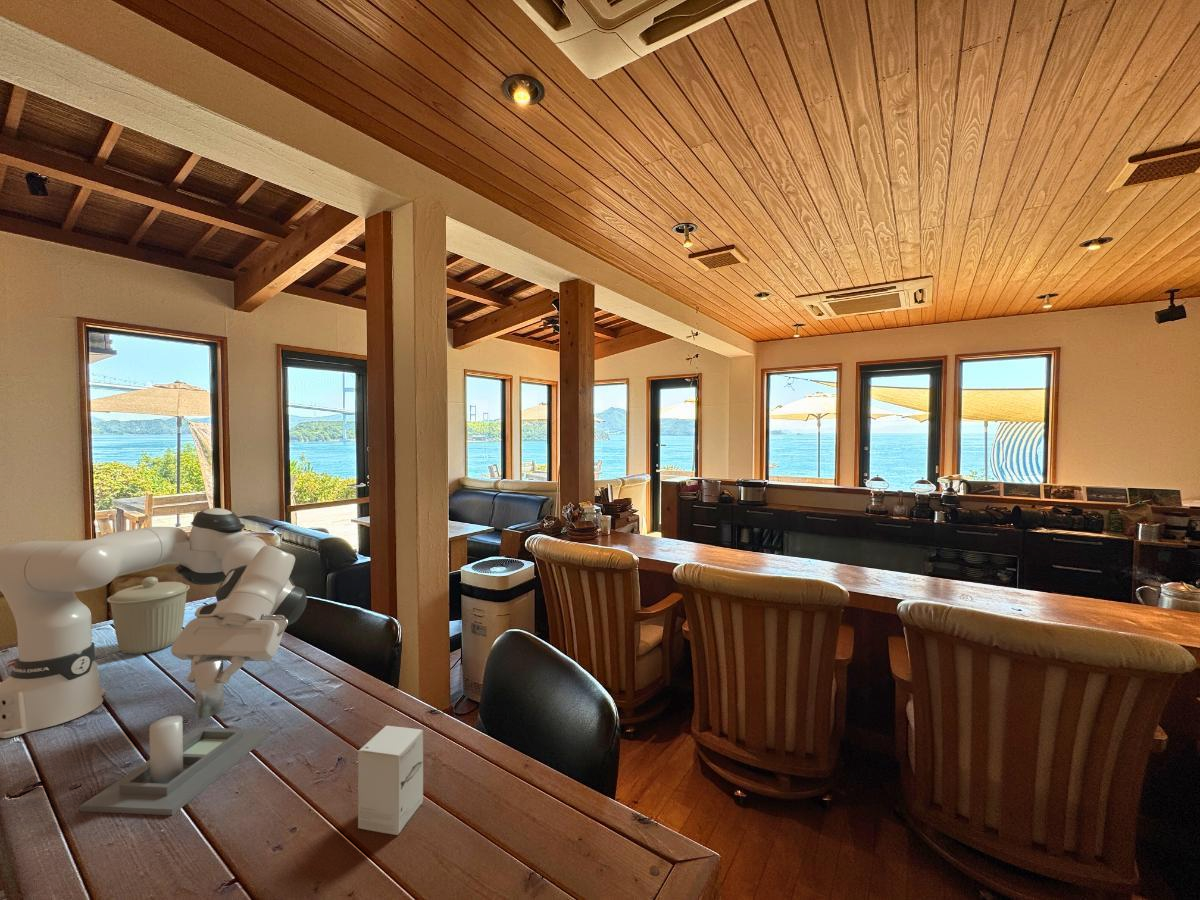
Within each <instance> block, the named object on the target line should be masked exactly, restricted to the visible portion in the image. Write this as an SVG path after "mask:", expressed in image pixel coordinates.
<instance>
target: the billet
mask: <svg viewBox="0 0 1200 900" xmlns="http://www.w3.org/2000/svg"><path fill="white" fill-rule="evenodd" d="M220 671H224V661H223V657H220V656H215V657H209V658H205V659H202V660H199V661H198V662H196V663H195V664H194V675H195V683H194V707H195V709H194V710H195V711H194V712H195V714H194V716H195V718H198V719H203V718H204V719H205V718H209V717H213V716H215V715H217V714H219V713H221V712H223V710H224V709H225V697H224V696H225V693H224V692H225V691H224V690H225V689H224V684H225V683H218V682H216V681H215V679H216V677H217V676H218V673H219V672H220Z"/></svg>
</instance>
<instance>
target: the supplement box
mask: <svg viewBox="0 0 1200 900" xmlns="http://www.w3.org/2000/svg"><path fill="white" fill-rule="evenodd" d="M423 802H424V730H423V729H419V728H411V727H404V726H395V725H385V726H384V727H383V728H382V729H381V730H379V732H377V733H376V734H375V735H374V736H373V737H372V738H371V739H369V740H368V742H366V743H365V744H364V745H363V746H362V747H361V748H360V749H359V750H358V751H357V828H358V829H360V830H366V831H371V832H376V833H381V834H386V835H387V834H389V835H393V836H394V835H395V836H399V834H401V831H403V828H404V827H405V826H406V824H407V823H408V822H409V821H410V820H411V818H412V816H413V815H414V814H415V812H416V811H417V810H418V809H419V808H420V806H421V805H422V804H423Z"/></svg>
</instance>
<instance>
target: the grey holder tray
mask: <svg viewBox="0 0 1200 900" xmlns="http://www.w3.org/2000/svg"><path fill="white" fill-rule="evenodd" d="M183 725H184V724H183V716H181V715H169V716H166V717H163V718H160V719H158V720H156V721H154V722H153V723H151V724H150V726H149V759H148V760H147V761H146V762H144V763H142V764H141V765H140V766H138V767H136V768H135V769H133V770H132V771H130V772H129V773H128V774H126V775H124V776H123V777H121V778H120V779H118V780H117V781H115V782H113V783H112V784H110V785H109V786H108V787H106V788H105V789H103V790H102V791H100V792H99V793H97V794H96V795H94V796H93V797H91V798H90V799H88V800H86V801H85V802H84V803H82V804H81V805H80V812H90V813H107V814H109V813H111V814H132V815H136V814H137V815H153V816H154V815H157V816H158V815H159V816H174V815H175V814H176V813H177V812H178V811H180V810H181V809H182V808H183V807H185V806H186V805H187V804H188V803H190V801H192V800H193V799H194V798H196V797H197V796H198V795H199V794H200V793H202V792H204V790H205V789H207V788H208V787H209V786H210V785H212V784H213V783H214V782H215V781H216V780H217V779H218V778H220V777H221V776H222V775H223V774H225V773H226V772H227V771H228V770H229V769H231V768H232V767H233V766H234V765H236V764H237V763H238V762H240V761H241V760H242V759H243V758H244V757H245V756H247V755H248V754H249V753H250V752H251V751H252V750H254V749H256V748H257V747H259V745H260V744H262V743H263V742H264V741H265V740H266V739H267V738H269V737H270V736H271V735H272V730H271V729H259V728H258V729H254V728H252V729H251V728H222V727H200V726H199V727H197V728H195V729H194V730H192V731H191V732H189V733H187V734H186V735H185V736H184V735H183V733H184V731H183V729H184V728H183V727H184V726H183Z"/></svg>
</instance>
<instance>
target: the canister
mask: <svg viewBox="0 0 1200 900" xmlns="http://www.w3.org/2000/svg"><path fill="white" fill-rule="evenodd" d="M190 589H191V587H190V585H189V584H186V583H185V584H184V583H183V582H181V581H180V582H178V581H160V582H159V579H158V577H156V576H146V577H145V578H143V579H142V581H141V584H140V585H135V586H131V587H127V588H124V589H121V590H119V591H117V592H115V593H114V594H113V595H111V596H109V597H108V598H107V599H106V602H107V603H109V604H110V607H111V608H110V609H111V614H112V615H111V616H112V619H113V620H112V621H113V628H114V632H115V637H116V640H117V646H118V647H119V650H120V651H121V652H123V653H125V654H129V655H138V654H139V655H140V654H146V653H152V652H155V651H156V652H157V651H159V650H161V649H166V648H168V647H170V646H173V644H174V642H175V641H176V639H177V637H178V636H179V635H180V633H181V632H182V630H183V626H184V619H185V610H186V603H187V593H188V591H189V590H190Z"/></svg>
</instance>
